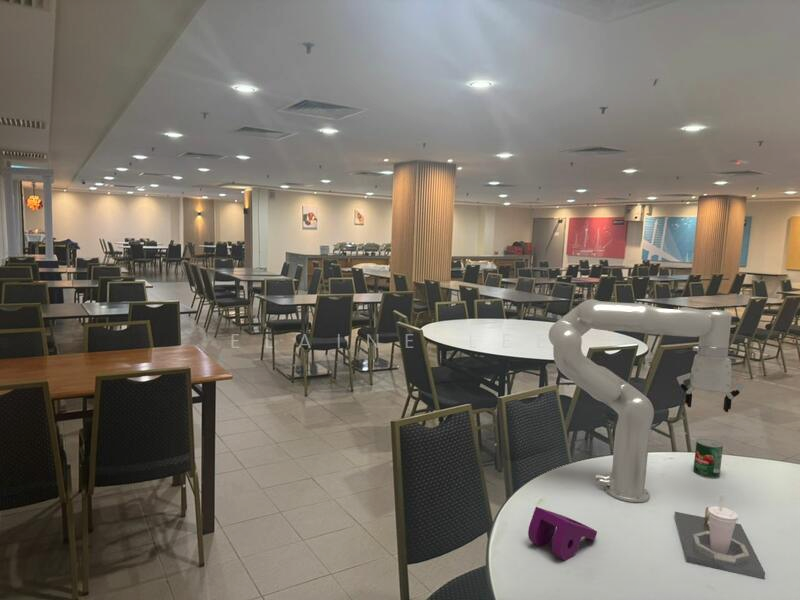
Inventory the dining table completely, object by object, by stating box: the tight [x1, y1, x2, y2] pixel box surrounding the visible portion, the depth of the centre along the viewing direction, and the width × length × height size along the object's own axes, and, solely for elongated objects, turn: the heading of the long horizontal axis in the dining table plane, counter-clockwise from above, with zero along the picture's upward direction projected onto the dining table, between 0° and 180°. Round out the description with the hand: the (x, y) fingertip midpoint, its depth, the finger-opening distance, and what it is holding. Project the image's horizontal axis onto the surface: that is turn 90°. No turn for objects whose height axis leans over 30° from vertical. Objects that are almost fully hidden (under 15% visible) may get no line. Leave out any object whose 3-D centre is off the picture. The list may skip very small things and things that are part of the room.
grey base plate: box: [674, 506, 766, 580], centre depth 137 cm, size 16×24×6 cm, turn 159°
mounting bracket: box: [527, 506, 598, 562], centre depth 134 cm, size 10×8×18 cm
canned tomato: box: [693, 438, 724, 480], centre depth 182 cm, size 8×8×11 cm
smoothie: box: [708, 493, 739, 554], centre depth 131 cm, size 6×6×14 cm
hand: (707, 408), depth 159 cm, fingers open, 9 cm apart
